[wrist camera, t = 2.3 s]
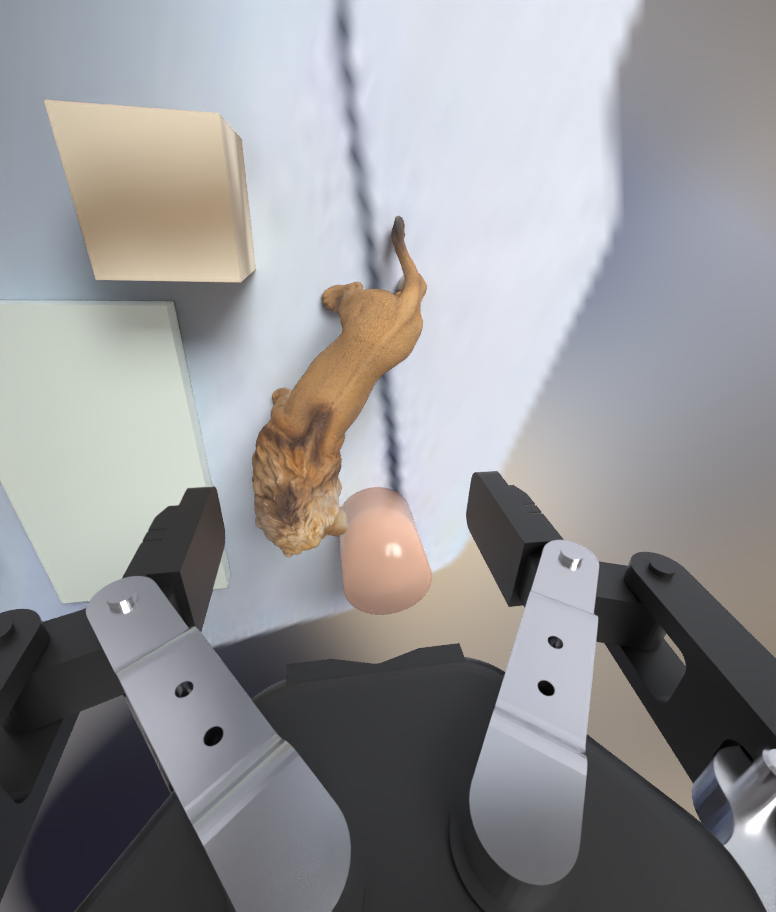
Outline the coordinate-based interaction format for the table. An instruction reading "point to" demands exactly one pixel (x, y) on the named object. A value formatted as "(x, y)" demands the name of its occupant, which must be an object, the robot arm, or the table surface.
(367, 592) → the peach rounded cylinder
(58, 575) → the sage board
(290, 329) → the table surface
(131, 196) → the birch block
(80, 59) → the table surface
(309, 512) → the lion figurine
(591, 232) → the table surface
